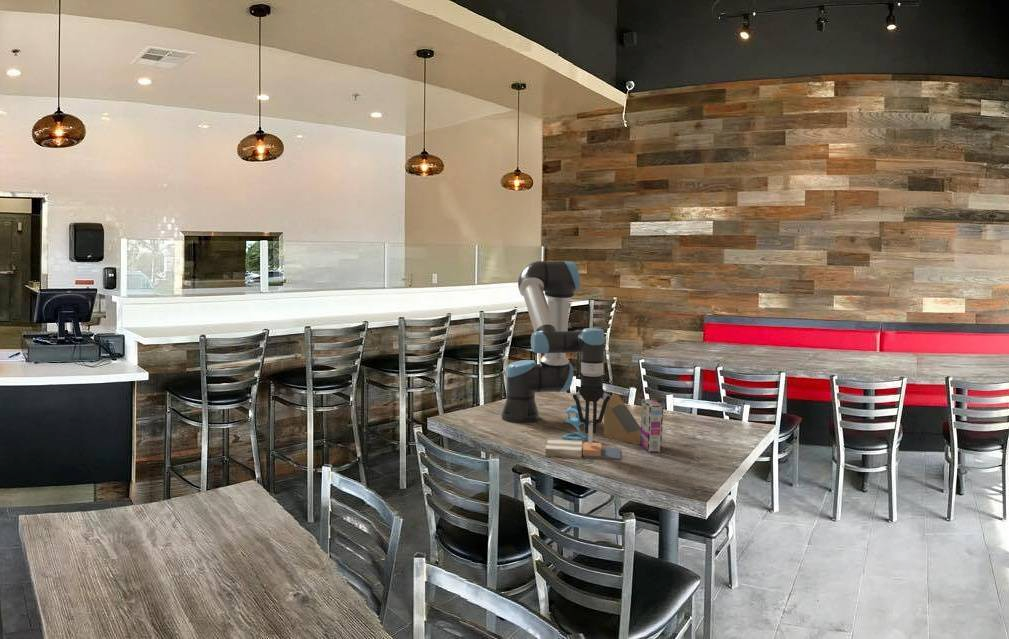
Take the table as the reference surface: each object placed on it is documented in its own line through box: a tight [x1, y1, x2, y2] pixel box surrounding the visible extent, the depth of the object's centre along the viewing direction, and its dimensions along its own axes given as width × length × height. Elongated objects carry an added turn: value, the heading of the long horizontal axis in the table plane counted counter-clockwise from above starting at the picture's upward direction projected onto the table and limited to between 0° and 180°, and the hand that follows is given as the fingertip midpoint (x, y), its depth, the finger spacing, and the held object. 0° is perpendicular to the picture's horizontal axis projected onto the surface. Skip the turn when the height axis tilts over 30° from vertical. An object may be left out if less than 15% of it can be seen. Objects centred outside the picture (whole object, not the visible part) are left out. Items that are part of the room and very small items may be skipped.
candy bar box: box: [639, 398, 664, 453], centre depth 242 cm, size 11×5×16 cm, turn 4°
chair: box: [562, 404, 591, 442], centre depth 253 cm, size 8×8×12 cm
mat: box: [583, 446, 622, 460], centre depth 236 cm, size 12×12×1 cm
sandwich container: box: [603, 393, 641, 445], centre depth 254 cm, size 9×15×15 cm, turn 45°
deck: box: [544, 438, 583, 459], centre depth 237 cm, size 12×12×2 cm
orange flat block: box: [582, 441, 602, 457], centre depth 236 cm, size 9×6×2 cm, turn 172°
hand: (590, 442), depth 236 cm, fingers closed
